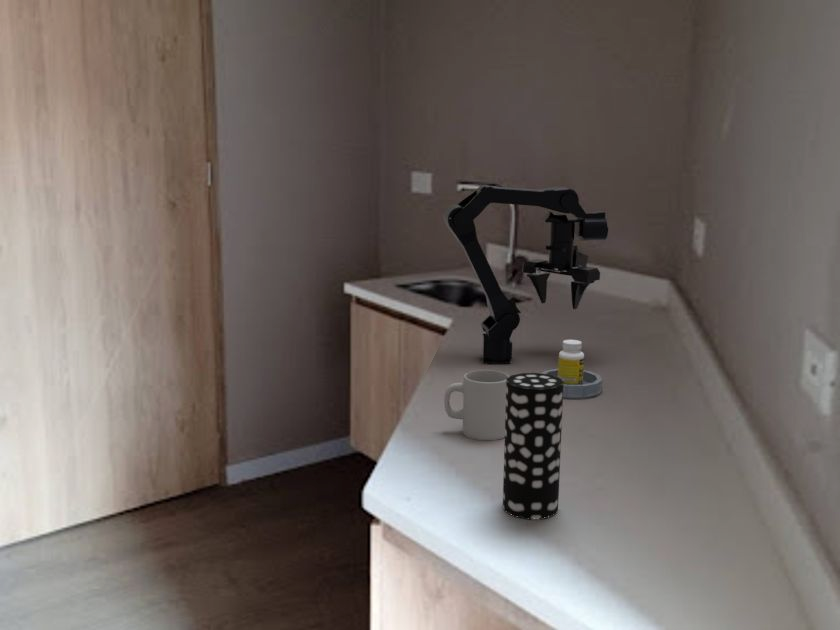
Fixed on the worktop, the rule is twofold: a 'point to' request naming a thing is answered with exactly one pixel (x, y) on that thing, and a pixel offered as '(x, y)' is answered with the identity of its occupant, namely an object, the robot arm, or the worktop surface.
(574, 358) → the supplement bottle
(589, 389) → the round dish
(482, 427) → the mug
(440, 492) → the worktop surface
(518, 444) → the white-spotted black cylinder
